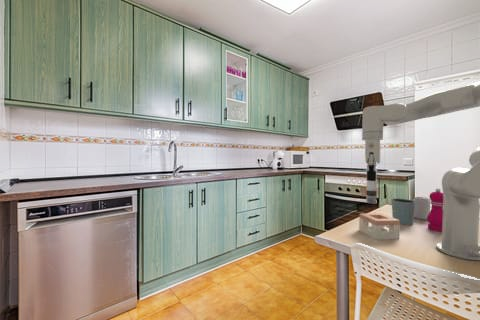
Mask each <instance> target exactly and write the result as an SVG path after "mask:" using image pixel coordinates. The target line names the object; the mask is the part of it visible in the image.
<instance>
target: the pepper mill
mask: <svg viewBox="0 0 480 320" xmlns="http://www.w3.org/2000/svg"><path fill="white" fill-rule="evenodd" d="M428 198H429V200H430V205H431V207H430V213H429V214H428V216H427V220H426V222H427V223H428V224H427V229H428V230H430V231H434V232H440V233H442V221H443V192H441V189H440V188H436V189H435V191H432V192H431V193H430V194H429V196H428Z"/></svg>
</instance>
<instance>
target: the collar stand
mask: <svg viewBox="0 0 480 320" xmlns="http://www.w3.org/2000/svg"><path fill="white" fill-rule="evenodd" d="M358 220H359V227H358V230H359V231H360V232H361V233H364V234H366V235H367V236H369V237H370V238H373V239H374V240H392V239H393V240H394V239H396V240H398V239H400V231H401V230H400V229H401V228H400V227H401V224H400V220H398V219H395V218H393V216H390V215H388V214H384V213H382V212H373V213H372V212H370V213H359V219H358ZM369 223H370V224H369ZM387 226H388V227H387Z"/></svg>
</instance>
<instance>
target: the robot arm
mask: <svg viewBox="0 0 480 320" xmlns="http://www.w3.org/2000/svg"><path fill="white" fill-rule="evenodd" d="M478 107H480V81H478V82H475V83H471V84H467V85H463V86H458V87H456V88H451V89H447V90H446V89H445V90H443V91H438V92H435V93H432V94H429V95H427V96H425V97H423V98H420V99H418V100H415V101H412V102H409V103H406V104H404V103H399V102H398V103H396V102H395V103H391V104H387V105H369V106H367V107H364V108H363V110H362V119H361V120H362V121H361V122H362V125H361V126H362V129H361V136H362V137H361V138H362V139H361V140H362V141H365V142H364V143H365V145H364V147H365V148H364V155H365V156H364V157H365V164H367V165H368V169H367V168H366V181H367V180H368V181H376V171H375V165H378V164H380V163H381V141H383V140H384V124H385V125H388V126H395V125H398V124H403V123H408V122H413V121H416V120H417V121H418V120H421V119H426V118H427V119H428V118H433V117H437V116H438V117H439V116H441V115H446V114H450V113H456V112H459V111H465V110H470V109H474V108H478ZM468 162H469V165H470V166H471V168H465V167H456V168H452V169H451V168H450V169H449V170H448V171H446V172H445V173H444V174H443V176H442V179H441V187H442V193H443V221H442V232H441V242H437V243H436V244H435V248H436V249H437V250H438V251H439V252H442V253H443V254H446V255H449V256H452V257H453V258H454V257H455V258H458V259H464V260H469V261H480V244H479V232H480V230H479V229H480V146H479V147H477V148H476V149H475V150H473V152H472V153H471V154H470V155H469V159H468Z"/></svg>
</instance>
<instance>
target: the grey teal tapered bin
mask: <svg viewBox="0 0 480 320" xmlns="http://www.w3.org/2000/svg"><path fill="white" fill-rule="evenodd" d="M414 207H415V201H413V199H412V200H411V199H406V198H391V210H392V211H391V212H392V216H391V217H392V218H395V219H398V220H400V226H401V225H403V226H413V224H414V215H413V214H414Z"/></svg>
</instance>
